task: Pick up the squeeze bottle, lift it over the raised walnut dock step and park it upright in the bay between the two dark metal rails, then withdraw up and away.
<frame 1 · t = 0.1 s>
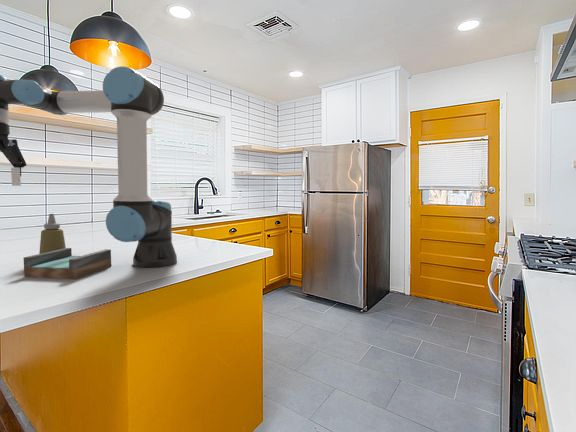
squeeze bottle: (53, 263, 120), on the countertop
dock: (70, 271, 108), on the countertop
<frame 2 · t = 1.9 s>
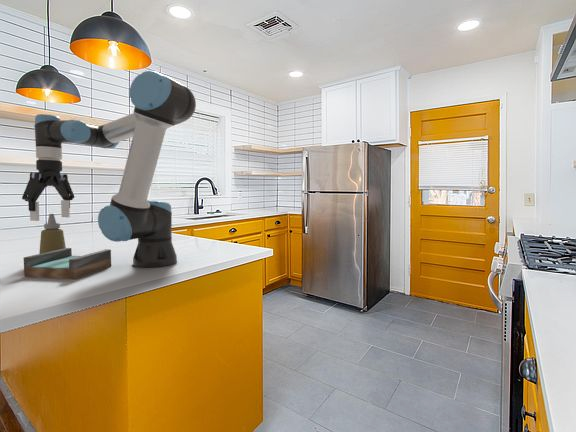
hand: (51, 219, 119), 16 cm above the countertop, fingers open, 13 cm apart
nothing on the countertop moved.
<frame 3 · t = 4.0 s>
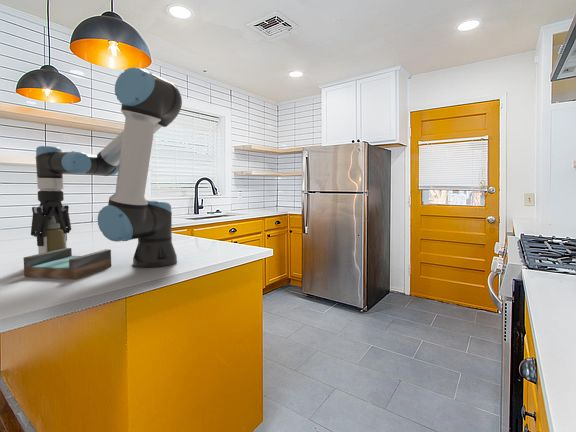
hand: (53, 252, 120), 4 cm above the countertop, fingers closed on squeeze bottle, 8 cm apart
squeeze bottle: (53, 263, 120), on the countertop, touching gripper
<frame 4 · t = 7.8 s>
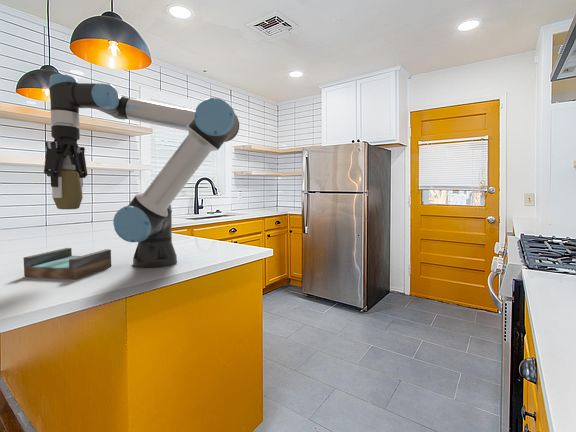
hand: (68, 197, 107), 24 cm above the countertop, fingers closed on squeeze bottle, 8 cm apart
squeeze bottle: (68, 209, 107), point 20 cm above the countertop, touching gripper
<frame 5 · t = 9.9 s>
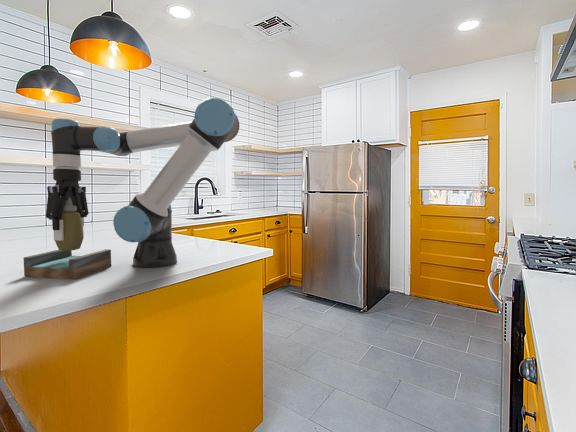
hand: (69, 238, 108), 11 cm above the countertop, fingers closed on squeeze bottle, 8 cm apart
squeeze bottle: (69, 250, 108), point 7 cm above the countertop, touching gripper
when the fingers open (8 cm above the countertop, at t = 11.5 s): squeeze bottle drops 1 cm, resting on dock.
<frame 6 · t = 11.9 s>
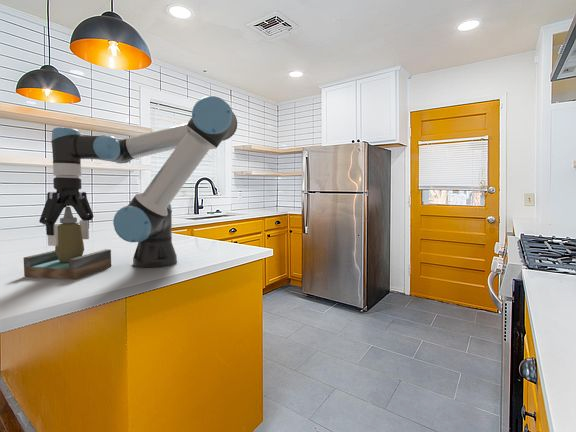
hand: (69, 242, 108), 10 cm above the countertop, fingers open, 13 cm apart
squeeze bottle: (70, 261, 108), point 3 cm above the countertop, touching dock
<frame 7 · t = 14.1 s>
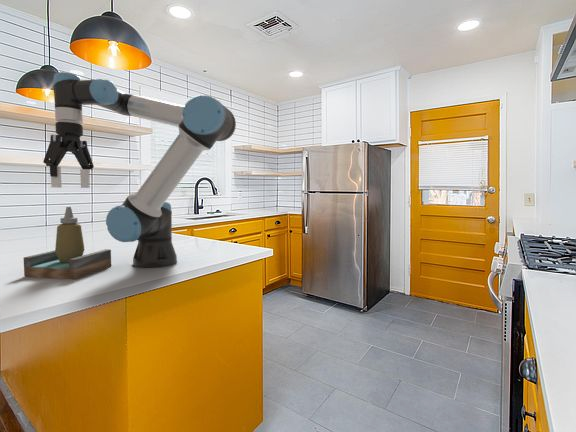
hand: (71, 187, 110), 28 cm above the countertop, fingers open, 13 cm apart
nothing on the countertop moved.
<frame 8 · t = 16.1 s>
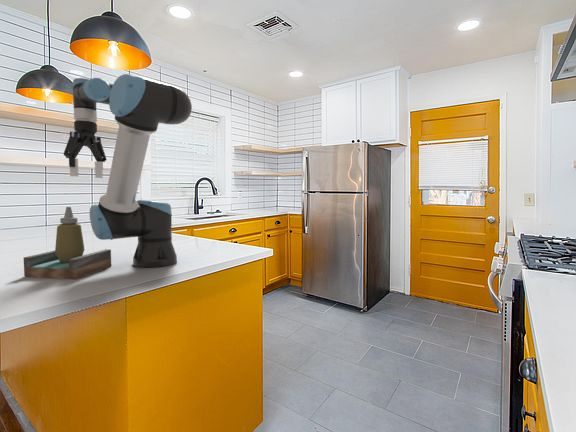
hand: (87, 177, 128), 32 cm above the countertop, fingers open, 13 cm apart
nothing on the countertop moved.
at the end: squeeze bottle inside the target area on the dock (0.0 cm from its centre), point 3.1 cm above the dock's base; squeeze bottle tilted 0°; the gripper is holding nothing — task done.
